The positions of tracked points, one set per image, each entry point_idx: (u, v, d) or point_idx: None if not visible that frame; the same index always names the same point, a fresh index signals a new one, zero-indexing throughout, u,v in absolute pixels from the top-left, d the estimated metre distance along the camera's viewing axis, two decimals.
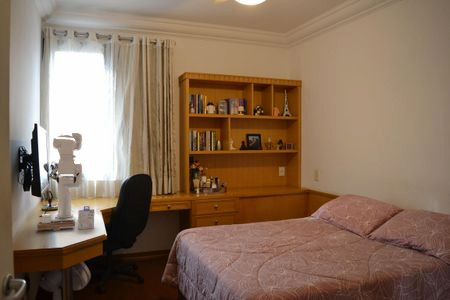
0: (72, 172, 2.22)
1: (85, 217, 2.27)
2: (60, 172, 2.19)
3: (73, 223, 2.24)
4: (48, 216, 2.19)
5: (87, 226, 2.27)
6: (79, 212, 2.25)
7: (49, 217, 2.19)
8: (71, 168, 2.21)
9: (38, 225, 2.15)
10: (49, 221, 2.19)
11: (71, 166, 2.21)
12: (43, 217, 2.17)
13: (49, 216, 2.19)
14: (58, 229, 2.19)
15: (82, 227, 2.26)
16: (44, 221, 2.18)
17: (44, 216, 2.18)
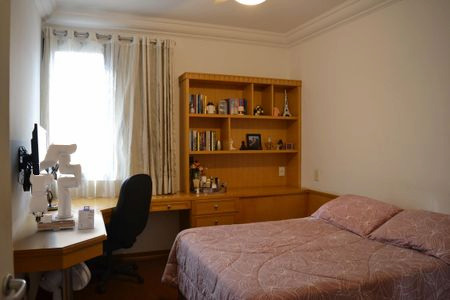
0: (44, 209, 2.18)
1: (85, 217, 2.27)
2: (31, 210, 2.14)
3: (73, 223, 2.24)
4: (49, 216, 2.19)
5: (87, 226, 2.27)
6: (79, 212, 2.25)
7: (50, 217, 2.19)
8: (43, 205, 2.17)
9: (38, 225, 2.15)
10: (50, 221, 2.19)
11: (43, 203, 2.17)
12: (44, 217, 2.18)
13: (50, 216, 2.19)
14: (58, 229, 2.19)
15: (82, 227, 2.26)
16: (45, 221, 2.18)
17: (45, 216, 2.18)
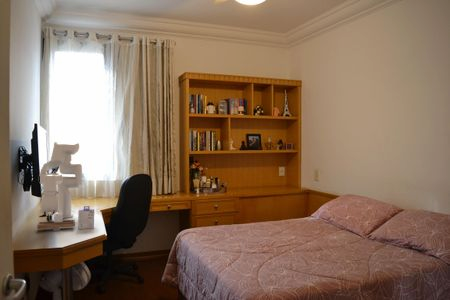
0: (55, 209, 2.20)
1: (85, 217, 2.27)
2: (42, 209, 2.17)
3: (73, 223, 2.24)
4: (60, 215, 2.22)
5: (87, 226, 2.27)
6: (79, 212, 2.25)
7: (61, 216, 2.22)
8: (54, 205, 2.20)
9: (38, 225, 2.15)
10: (61, 220, 2.22)
11: (54, 203, 2.20)
12: (55, 216, 2.20)
13: (61, 215, 2.22)
14: (58, 229, 2.19)
15: (82, 227, 2.26)
16: (56, 220, 2.21)
17: (56, 215, 2.21)
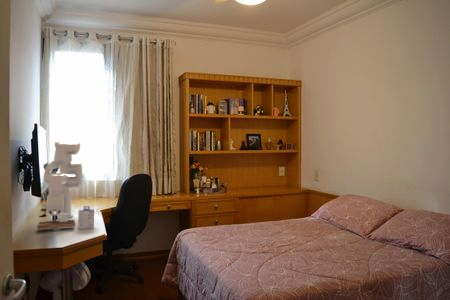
0: (60, 208, 2.22)
1: (85, 217, 2.27)
2: (48, 209, 2.19)
3: (73, 223, 2.24)
4: (65, 215, 2.23)
5: (87, 226, 2.27)
6: (79, 212, 2.25)
7: (66, 216, 2.23)
8: (59, 204, 2.21)
9: (38, 225, 2.15)
10: (66, 220, 2.23)
11: (59, 202, 2.21)
12: (61, 216, 2.22)
13: (66, 215, 2.23)
14: (58, 229, 2.19)
15: (82, 227, 2.26)
16: (61, 220, 2.22)
17: (62, 215, 2.22)
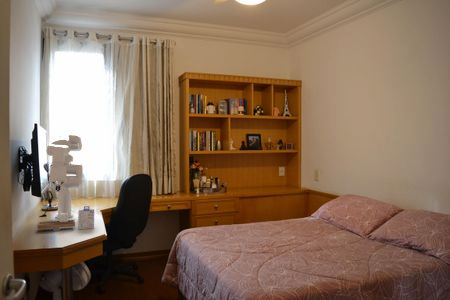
0: (63, 179, 2.28)
1: (85, 217, 2.27)
2: (51, 179, 2.25)
3: (73, 223, 2.24)
4: (66, 215, 2.23)
5: (87, 226, 2.27)
6: (79, 212, 2.25)
7: (67, 216, 2.23)
8: (62, 175, 2.27)
9: (38, 225, 2.15)
10: (67, 220, 2.24)
11: (62, 173, 2.27)
12: (61, 216, 2.22)
13: (67, 215, 2.23)
14: (58, 229, 2.19)
15: (82, 227, 2.26)
16: (62, 220, 2.22)
17: (62, 215, 2.22)
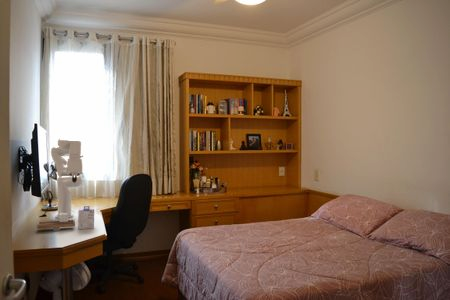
0: (79, 171, 2.42)
1: (85, 217, 2.27)
2: (69, 171, 2.39)
3: (73, 223, 2.24)
4: (66, 215, 2.23)
5: (87, 226, 2.27)
6: (79, 212, 2.25)
7: (67, 216, 2.23)
8: (79, 167, 2.42)
9: (38, 225, 2.15)
10: (67, 220, 2.24)
11: (79, 165, 2.42)
12: (61, 216, 2.22)
13: (67, 215, 2.23)
14: (58, 229, 2.19)
15: (82, 227, 2.26)
16: (62, 220, 2.22)
17: (62, 215, 2.22)
